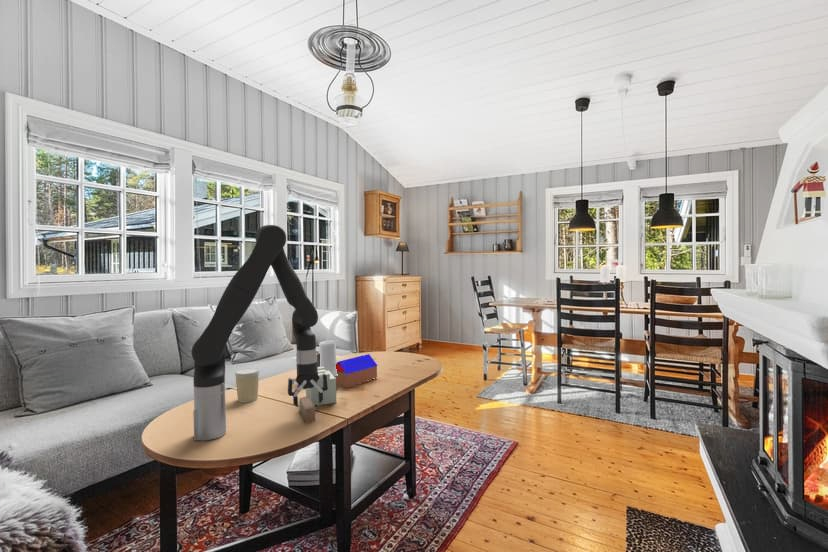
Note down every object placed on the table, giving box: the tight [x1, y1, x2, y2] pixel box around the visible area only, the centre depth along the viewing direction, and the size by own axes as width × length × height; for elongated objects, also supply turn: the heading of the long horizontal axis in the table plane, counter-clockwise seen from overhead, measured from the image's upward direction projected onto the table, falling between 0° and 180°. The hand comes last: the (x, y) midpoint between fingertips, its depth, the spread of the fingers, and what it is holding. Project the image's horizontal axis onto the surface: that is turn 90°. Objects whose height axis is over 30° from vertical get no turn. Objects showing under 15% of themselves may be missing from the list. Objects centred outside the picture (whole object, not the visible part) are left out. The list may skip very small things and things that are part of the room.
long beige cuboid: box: [299, 396, 316, 423], centre depth 147 cm, size 4×14×5 cm, turn 24°
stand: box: [305, 366, 337, 407], centre depth 165 cm, size 10×14×12 cm
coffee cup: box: [234, 368, 260, 403], centre depth 167 cm, size 9×9×12 cm
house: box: [335, 353, 378, 388], centre depth 192 cm, size 12×20×12 cm, turn 140°
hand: (308, 404), depth 147 cm, fingers open, 8 cm apart
